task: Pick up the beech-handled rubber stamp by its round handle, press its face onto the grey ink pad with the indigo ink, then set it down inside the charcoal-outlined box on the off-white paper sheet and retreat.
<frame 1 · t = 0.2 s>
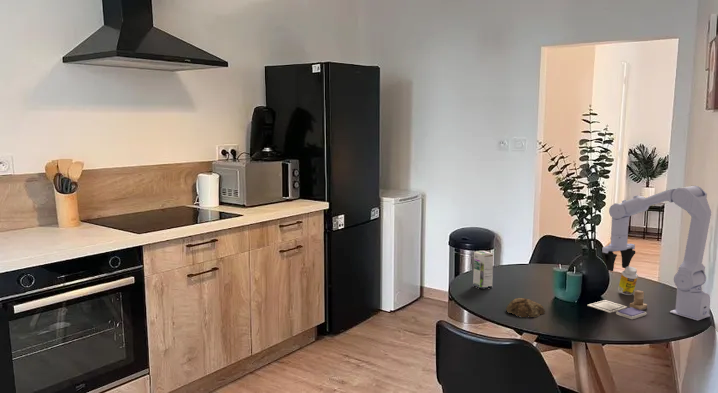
hand: (617, 269, 208), 10 cm above the table, fingers open, 7 cm apart
bread roll: (523, 313, 192), on the table
ink pad: (631, 314, 188), on the table
syrup box: (482, 287, 221), on the table
stamp: (638, 308, 194), on the table
print sheet: (607, 306, 196), on the table
supplement bottle: (625, 292, 210), on the table
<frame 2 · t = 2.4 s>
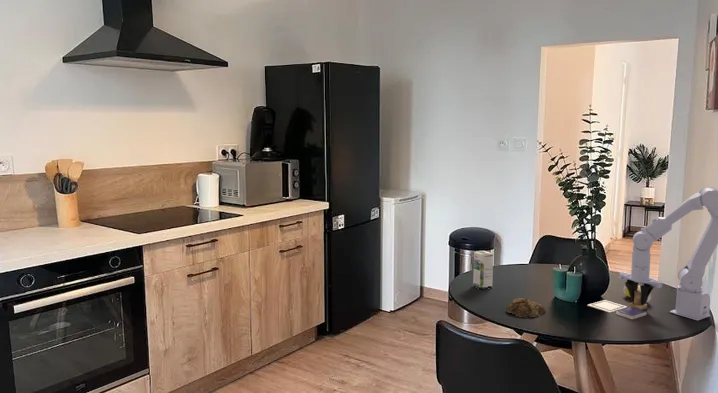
hand: (638, 302, 194), 2 cm above the table, fingers closed on stamp, 3 cm apart
stamp: (638, 308, 194), on the table, touching gripper
supplement bottle: (629, 288, 207), point 3 cm above the table
everything else where it was.
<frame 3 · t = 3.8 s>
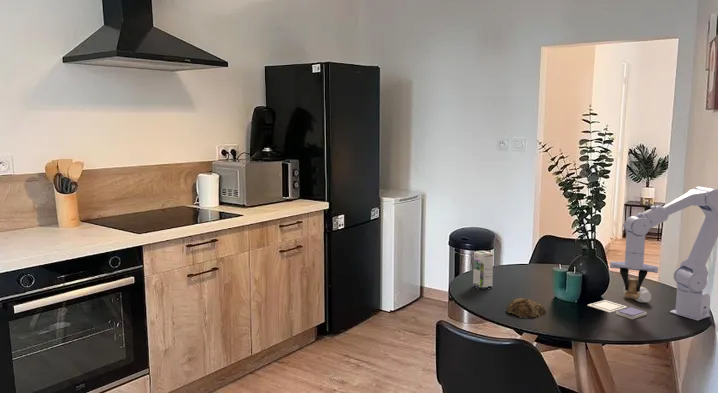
hand: (632, 290, 186), 9 cm above the table, fingers closed on stamp, 3 cm apart
stamp: (632, 296, 187), point 6 cm above the table, touching gripper
everything else where it was.
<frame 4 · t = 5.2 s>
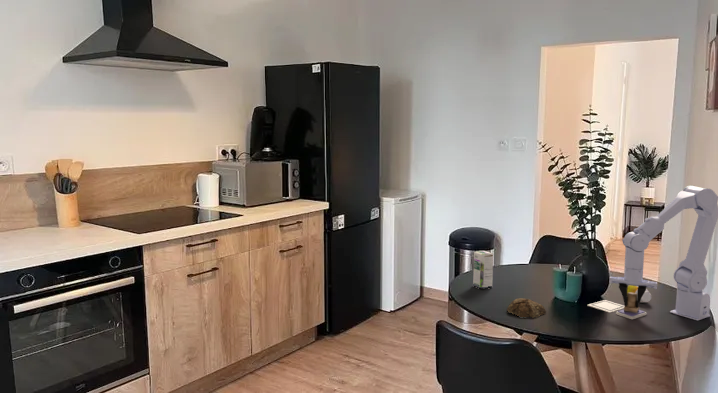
hand: (631, 305, 187), 3 cm above the table, fingers closed on stamp, 3 cm apart
stamp: (631, 311, 188), point 1 cm above the table, touching gripper, ink pad
everything else where it was.
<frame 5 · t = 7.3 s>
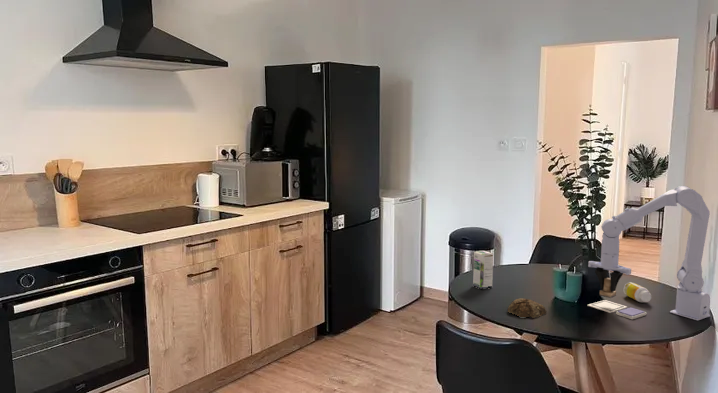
hand: (608, 290, 195), 6 cm above the table, fingers closed on stamp, 3 cm apart
stamp: (607, 295, 195), point 4 cm above the table, touching gripper
everything else where it was.
when the fingers open (2 cm above the table, at t = 8.4 s): stamp stays where it is, resting on print sheet.
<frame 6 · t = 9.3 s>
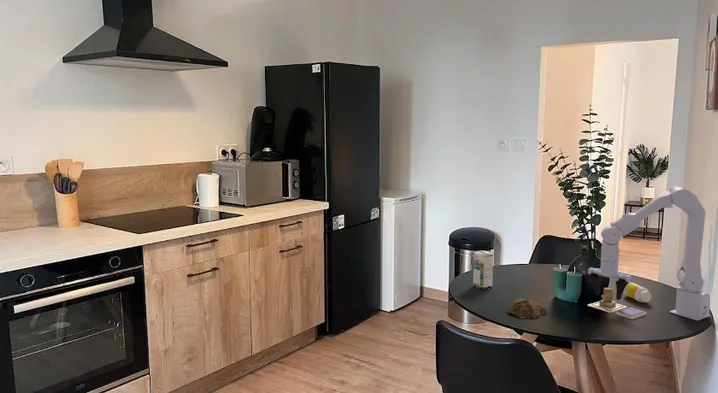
hand: (608, 296, 195), 4 cm above the table, fingers open, 7 cm apart
stamp: (607, 305, 196), resting on print sheet
everything else where it was.
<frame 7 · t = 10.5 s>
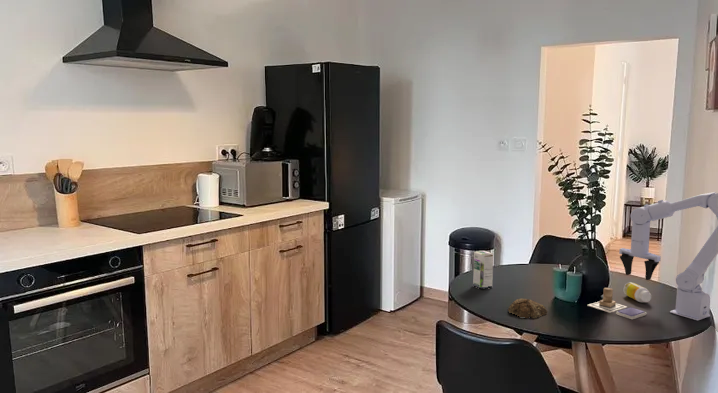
hand: (638, 277, 198), 10 cm above the table, fingers open, 7 cm apart
nothing on the table moved.
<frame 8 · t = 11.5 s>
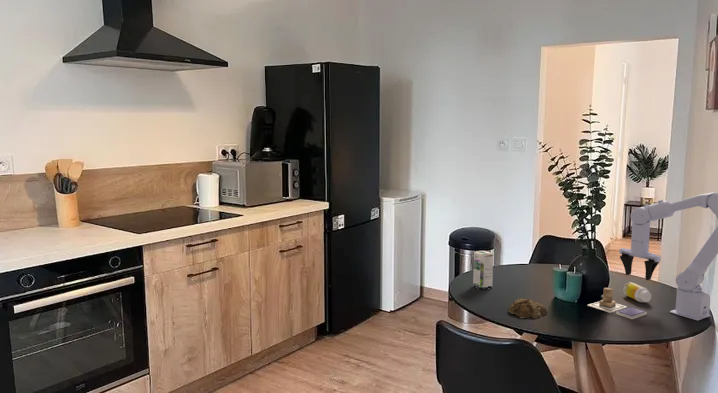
hand: (638, 277, 198), 10 cm above the table, fingers open, 7 cm apart
nothing on the table moved.
at the end: stamp 0.0 cm off-centre on the print sheet, point 0.3 cm above the print sheet's base; stamp tilted 0°; the gripper is holding nothing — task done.
